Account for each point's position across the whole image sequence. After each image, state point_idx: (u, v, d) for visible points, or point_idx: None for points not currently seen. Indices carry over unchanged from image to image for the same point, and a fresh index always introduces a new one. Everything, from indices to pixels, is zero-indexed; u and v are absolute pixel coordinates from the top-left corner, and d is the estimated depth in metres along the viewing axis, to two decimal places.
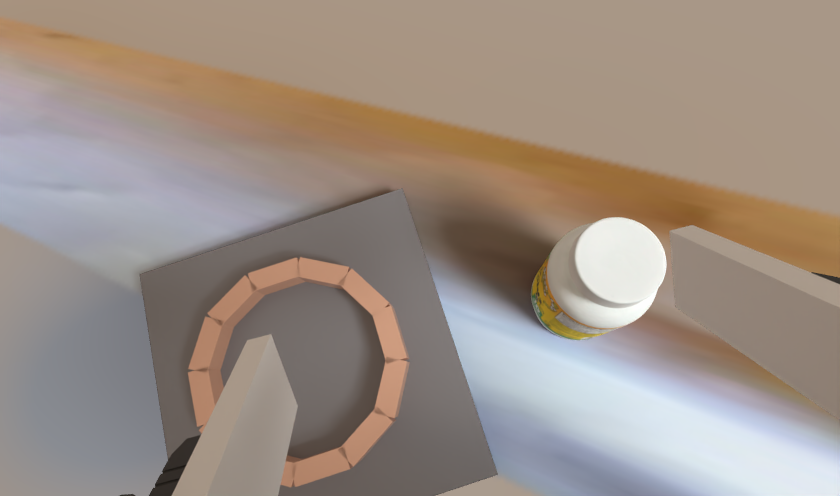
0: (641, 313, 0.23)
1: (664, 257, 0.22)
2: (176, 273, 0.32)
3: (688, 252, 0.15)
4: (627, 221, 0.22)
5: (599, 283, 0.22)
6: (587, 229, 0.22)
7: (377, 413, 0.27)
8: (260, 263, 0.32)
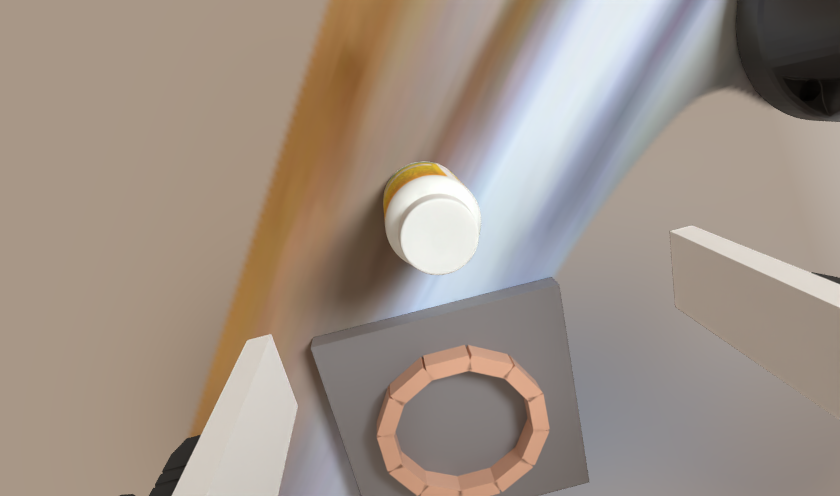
0: (474, 200, 0.27)
1: (442, 199, 0.24)
2: None
3: (688, 252, 0.15)
4: (405, 226, 0.24)
5: (459, 258, 0.25)
6: (410, 261, 0.25)
7: (508, 376, 0.35)
8: (374, 455, 0.38)
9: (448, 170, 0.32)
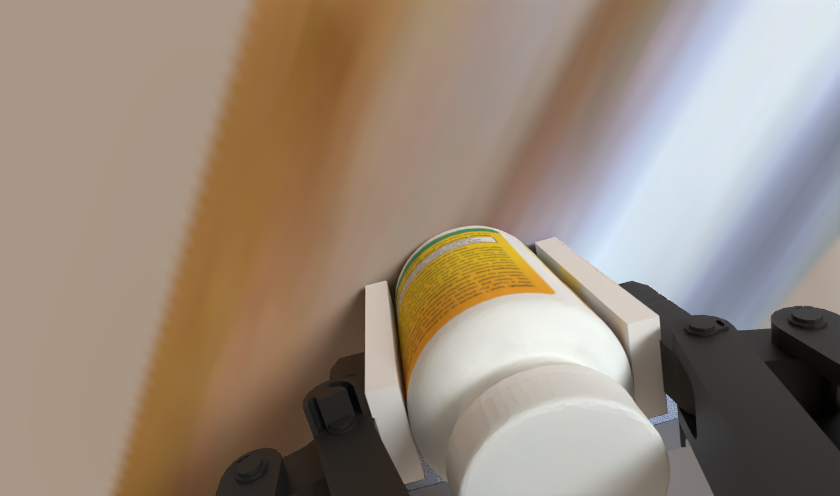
0: (623, 353, 0.11)
1: (581, 402, 0.08)
2: None
3: (545, 262, 0.17)
4: (474, 473, 0.08)
5: None
6: None
7: None
8: None
9: (525, 247, 0.16)
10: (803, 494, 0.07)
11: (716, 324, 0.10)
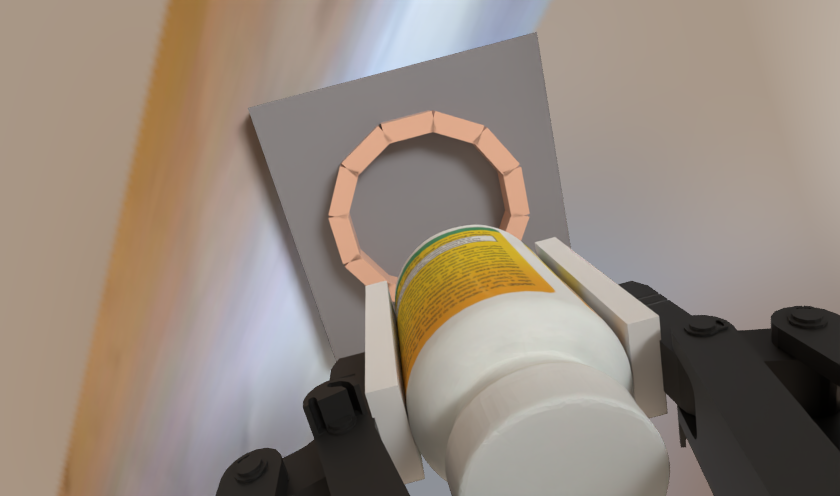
0: (622, 351, 0.11)
1: (581, 400, 0.08)
2: (336, 330, 0.34)
3: (545, 262, 0.17)
4: (474, 472, 0.08)
5: None
6: None
7: (478, 141, 0.30)
8: (329, 254, 0.33)
9: (525, 246, 0.16)
10: (803, 494, 0.07)
11: (716, 324, 0.10)
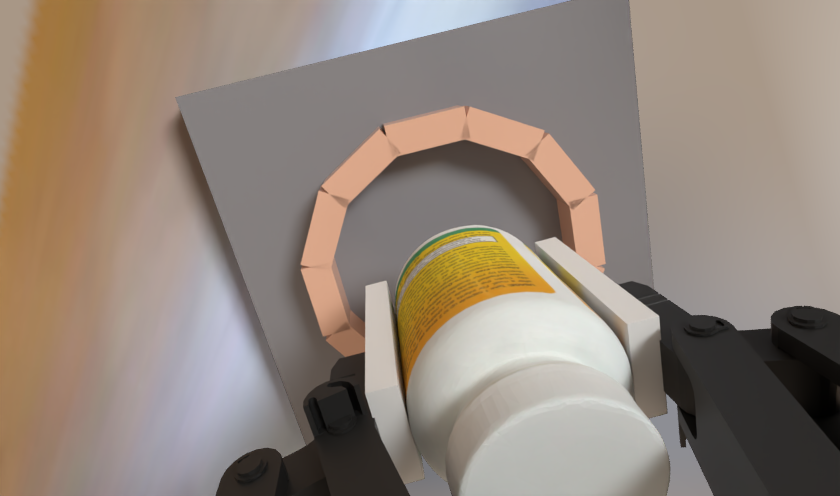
0: (623, 352, 0.11)
1: (581, 401, 0.08)
2: None
3: (545, 262, 0.17)
4: (474, 472, 0.08)
5: None
6: None
7: (535, 154, 0.19)
8: (304, 317, 0.22)
9: (525, 246, 0.16)
10: (803, 494, 0.07)
11: (716, 324, 0.10)
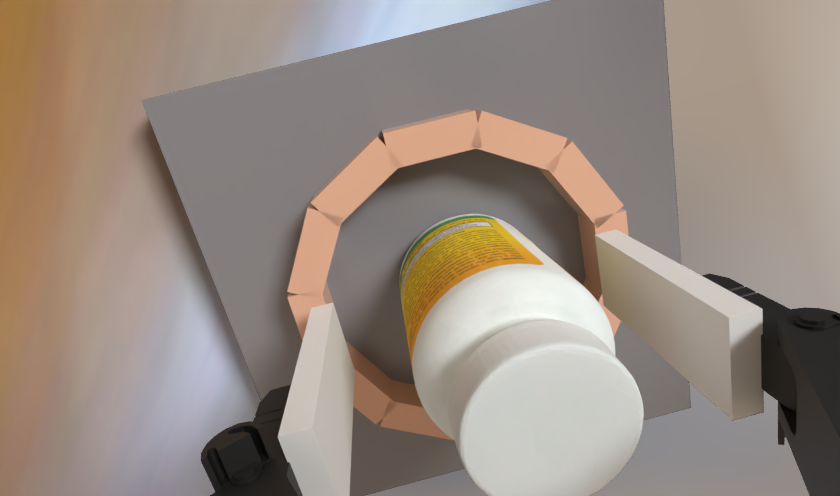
0: (604, 316, 0.12)
1: (563, 347, 0.10)
2: None
3: (608, 255, 0.16)
4: (473, 411, 0.10)
5: (595, 472, 0.11)
6: (481, 487, 0.10)
7: (556, 165, 0.17)
8: (292, 348, 0.20)
9: (518, 231, 0.17)
10: None
11: (831, 318, 0.10)
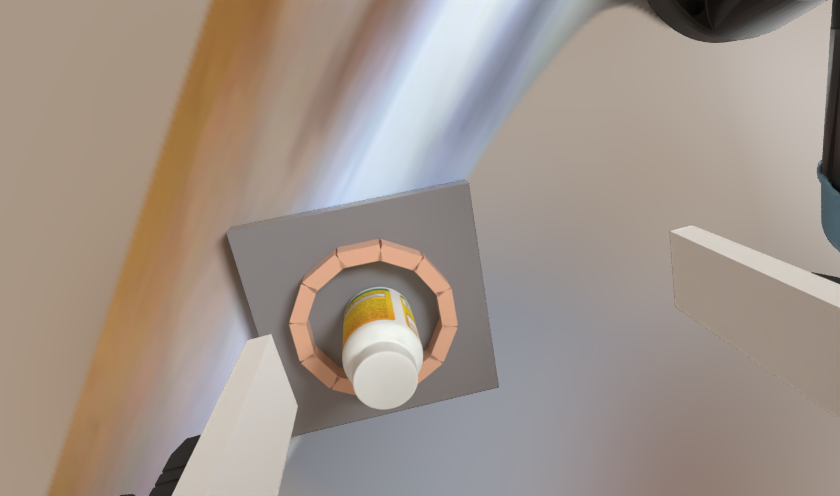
0: (416, 340, 0.32)
1: (387, 352, 0.29)
2: None
3: (688, 252, 0.15)
4: (357, 373, 0.29)
5: (402, 396, 0.30)
6: (361, 400, 0.30)
7: (417, 268, 0.37)
8: (288, 349, 0.39)
9: (399, 297, 0.37)
10: None
11: None
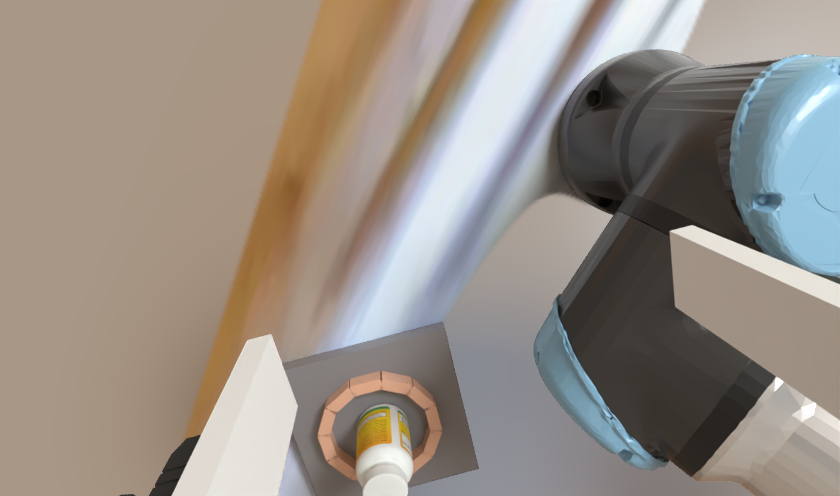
0: (407, 457, 0.45)
1: (385, 474, 0.42)
2: (322, 492, 0.54)
3: (688, 252, 0.15)
4: (365, 488, 0.43)
5: None
6: None
7: (409, 393, 0.50)
8: (318, 449, 0.52)
9: (397, 414, 0.50)
10: None
11: None
